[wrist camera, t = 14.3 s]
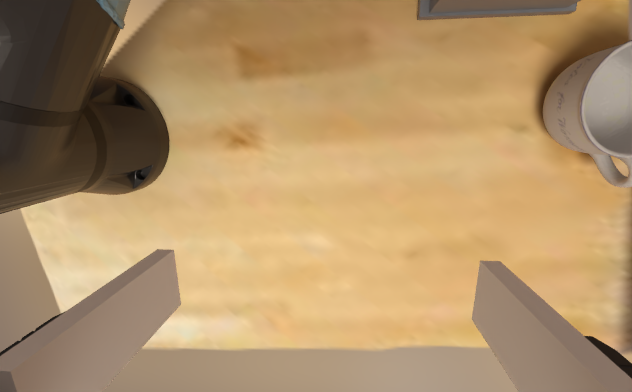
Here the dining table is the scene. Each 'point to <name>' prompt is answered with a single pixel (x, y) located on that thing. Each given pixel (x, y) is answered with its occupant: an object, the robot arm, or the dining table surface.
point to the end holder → (492, 8)
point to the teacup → (595, 109)
